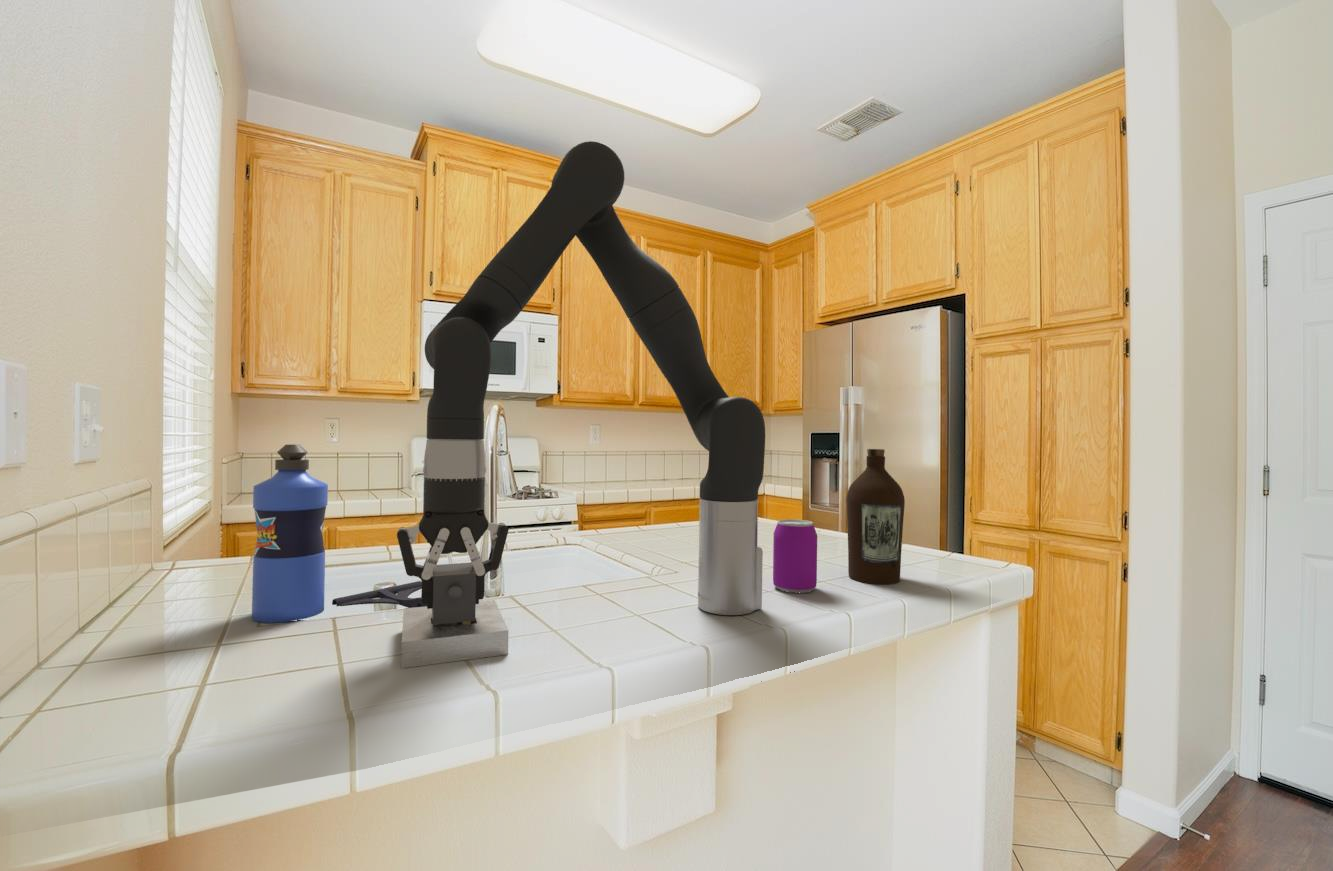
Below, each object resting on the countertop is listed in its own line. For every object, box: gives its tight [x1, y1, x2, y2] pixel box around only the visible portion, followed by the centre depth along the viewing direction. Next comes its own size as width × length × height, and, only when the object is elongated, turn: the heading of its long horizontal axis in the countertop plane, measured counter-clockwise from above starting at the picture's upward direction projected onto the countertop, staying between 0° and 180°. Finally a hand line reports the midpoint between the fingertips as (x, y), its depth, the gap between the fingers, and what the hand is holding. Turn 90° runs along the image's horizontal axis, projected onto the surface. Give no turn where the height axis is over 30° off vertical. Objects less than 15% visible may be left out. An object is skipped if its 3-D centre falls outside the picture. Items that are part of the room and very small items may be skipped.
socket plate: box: [400, 599, 509, 669], centre depth 77 cm, size 12×14×3 cm
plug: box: [432, 562, 476, 625], centre depth 76 cm, size 5×8×8 cm, turn 23°
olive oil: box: [846, 448, 906, 585], centre depth 114 cm, size 11×11×25 cm
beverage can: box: [772, 518, 818, 594], centre depth 106 cm, size 8×8×12 cm
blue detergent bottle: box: [251, 444, 329, 624], centre depth 88 cm, size 9×9×25 cm
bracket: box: [331, 580, 427, 608], centre depth 94 cm, size 14×15×3 cm
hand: (452, 604), depth 77 cm, fingers closed on plug, 5 cm apart
